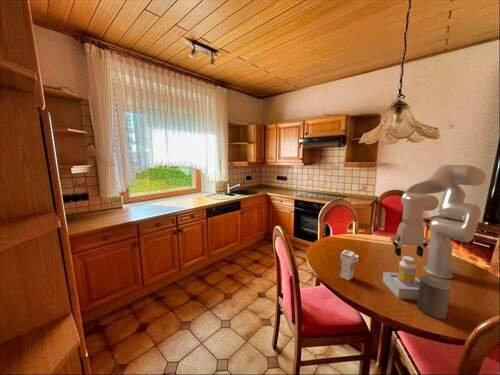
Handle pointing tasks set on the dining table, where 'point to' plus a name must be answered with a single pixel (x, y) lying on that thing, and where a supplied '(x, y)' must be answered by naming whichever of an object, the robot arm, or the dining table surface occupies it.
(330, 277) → the dining table surface
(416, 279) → the gray square tray
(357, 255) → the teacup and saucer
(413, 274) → the supplement bottle
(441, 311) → the pillar candle
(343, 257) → the syrup box
